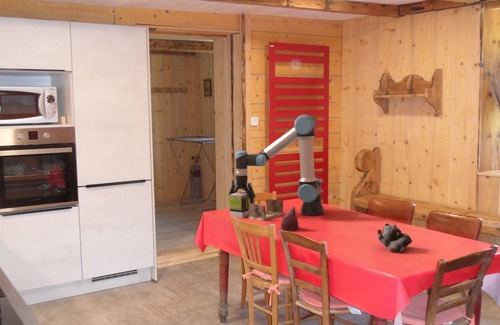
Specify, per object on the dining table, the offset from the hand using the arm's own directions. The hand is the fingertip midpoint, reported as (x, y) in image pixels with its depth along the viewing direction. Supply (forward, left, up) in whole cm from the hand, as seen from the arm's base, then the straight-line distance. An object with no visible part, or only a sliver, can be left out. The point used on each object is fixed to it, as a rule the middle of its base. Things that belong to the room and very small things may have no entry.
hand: (242, 207), depth 356 cm
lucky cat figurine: (-114, +24, -6) cm, 116 cm away
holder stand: (-16, -4, -5) cm, 18 cm away
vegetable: (-47, +16, -6) cm, 50 cm away
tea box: (0, 0, -6) cm, 6 cm away
